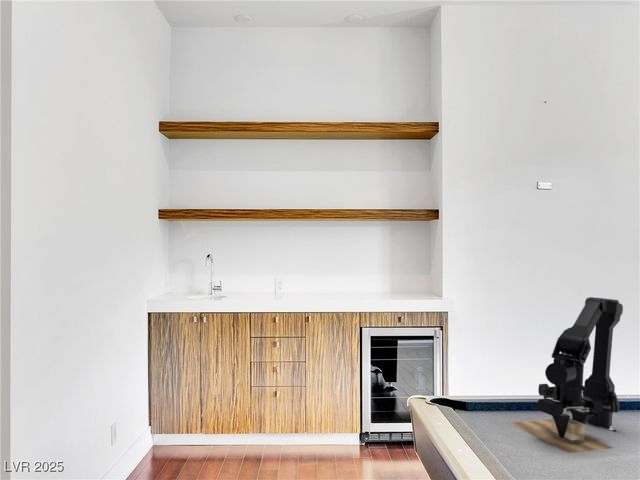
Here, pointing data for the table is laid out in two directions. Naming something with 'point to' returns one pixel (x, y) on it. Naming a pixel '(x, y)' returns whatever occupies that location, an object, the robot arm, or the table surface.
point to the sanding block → (571, 431)
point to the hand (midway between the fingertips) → (567, 436)
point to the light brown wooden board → (543, 432)
